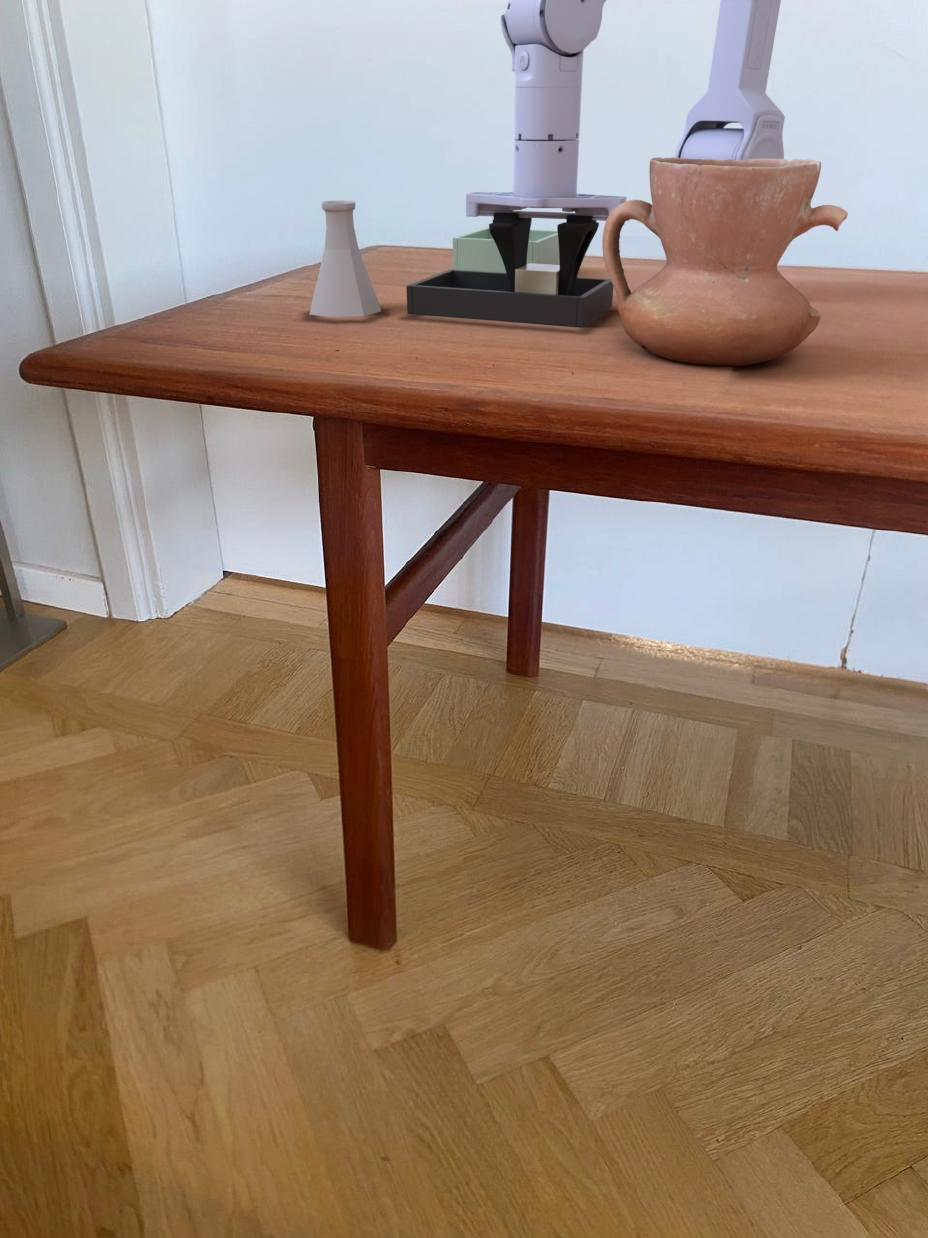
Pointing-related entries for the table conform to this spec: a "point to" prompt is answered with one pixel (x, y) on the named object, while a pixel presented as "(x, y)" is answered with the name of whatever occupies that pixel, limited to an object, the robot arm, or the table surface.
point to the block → (537, 279)
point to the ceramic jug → (720, 259)
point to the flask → (342, 269)
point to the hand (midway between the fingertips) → (541, 301)
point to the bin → (484, 255)
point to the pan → (506, 299)
